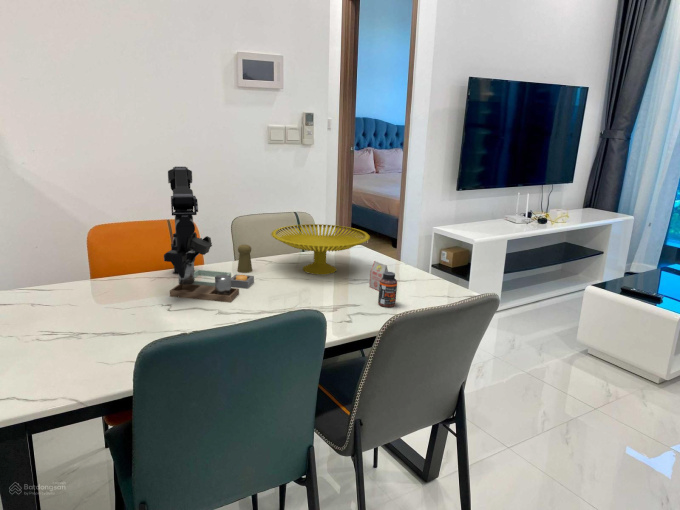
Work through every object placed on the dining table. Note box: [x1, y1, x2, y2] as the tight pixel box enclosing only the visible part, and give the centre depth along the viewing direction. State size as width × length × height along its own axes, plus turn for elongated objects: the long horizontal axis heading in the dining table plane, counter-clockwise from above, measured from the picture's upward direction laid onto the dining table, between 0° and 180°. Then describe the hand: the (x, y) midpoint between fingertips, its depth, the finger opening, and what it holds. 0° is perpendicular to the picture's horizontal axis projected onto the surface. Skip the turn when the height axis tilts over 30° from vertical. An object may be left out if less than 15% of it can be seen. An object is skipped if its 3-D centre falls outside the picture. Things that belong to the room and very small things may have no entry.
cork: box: [236, 244, 253, 274], centre depth 203 cm, size 6×6×11 cm
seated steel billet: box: [214, 275, 232, 296], centre depth 172 cm, size 5×5×7 cm
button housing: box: [231, 273, 255, 289], centre depth 186 cm, size 7×7×4 cm
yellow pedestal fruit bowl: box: [270, 223, 371, 275], centre depth 210 cm, size 40×40×15 cm
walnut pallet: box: [169, 283, 240, 303], centre depth 173 cm, size 21×8×3 cm, turn 81°
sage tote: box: [193, 269, 232, 286], centre depth 187 cm, size 13×13×3 cm
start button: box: [236, 274, 247, 281], centre depth 185 cm, size 4×4×3 cm
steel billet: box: [177, 260, 196, 285], centre depth 173 cm, size 5×5×7 cm
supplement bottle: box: [377, 271, 398, 308], centre depth 173 cm, size 6×6×11 cm
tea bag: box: [368, 260, 389, 292], centre depth 189 cm, size 4×7×10 cm, turn 36°
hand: (186, 275), depth 173 cm, fingers closed on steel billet, 5 cm apart
